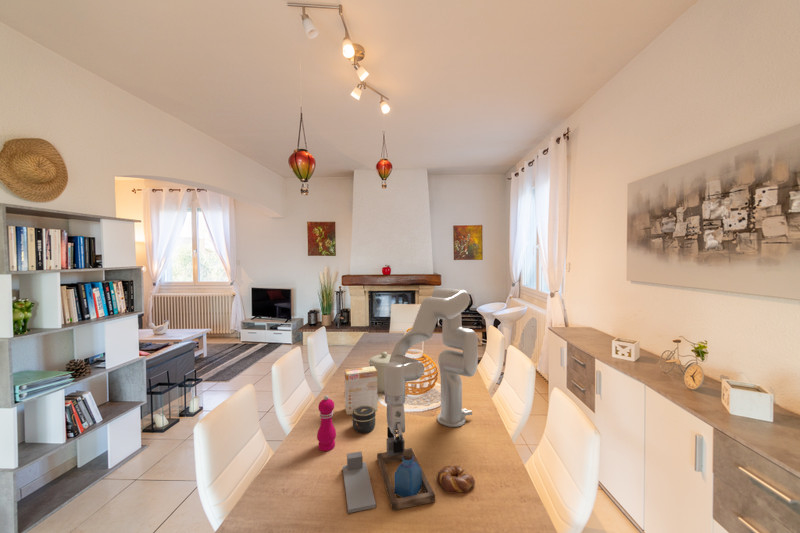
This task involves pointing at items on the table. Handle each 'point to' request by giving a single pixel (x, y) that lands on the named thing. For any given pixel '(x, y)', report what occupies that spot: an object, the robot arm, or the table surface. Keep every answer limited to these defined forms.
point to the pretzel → (455, 479)
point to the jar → (363, 419)
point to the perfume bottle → (407, 476)
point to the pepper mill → (326, 425)
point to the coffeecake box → (360, 388)
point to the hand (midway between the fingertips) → (394, 444)
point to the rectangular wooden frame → (395, 503)
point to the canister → (380, 369)
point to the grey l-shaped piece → (357, 484)
